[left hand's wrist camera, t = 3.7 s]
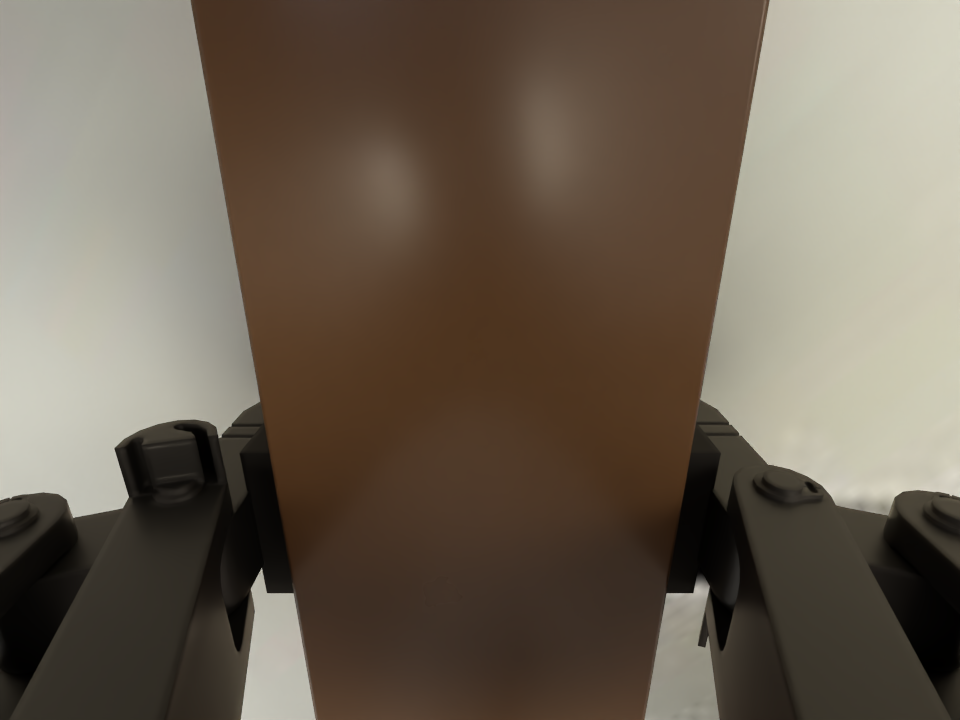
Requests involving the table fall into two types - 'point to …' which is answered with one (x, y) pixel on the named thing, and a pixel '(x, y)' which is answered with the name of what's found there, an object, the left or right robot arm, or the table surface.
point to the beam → (480, 326)
